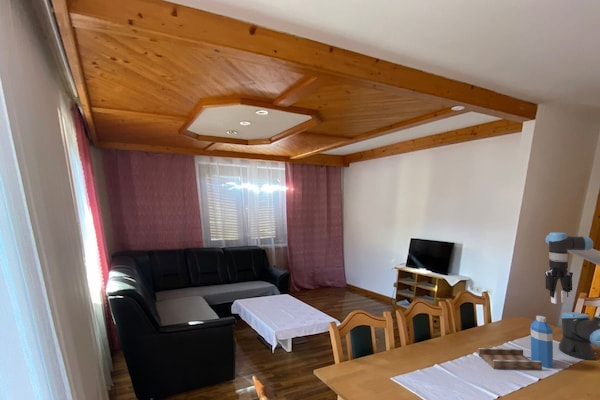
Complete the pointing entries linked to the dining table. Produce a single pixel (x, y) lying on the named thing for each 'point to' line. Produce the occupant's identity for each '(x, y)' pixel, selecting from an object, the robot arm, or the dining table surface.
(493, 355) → the cradle
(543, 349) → the water bottle
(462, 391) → the dining table surface
